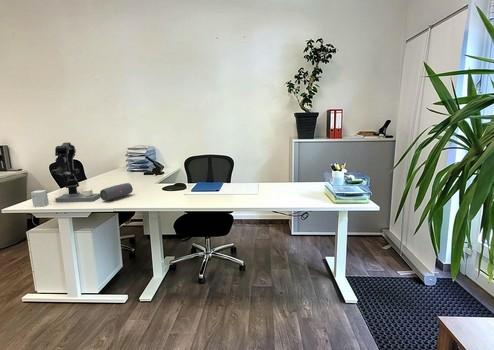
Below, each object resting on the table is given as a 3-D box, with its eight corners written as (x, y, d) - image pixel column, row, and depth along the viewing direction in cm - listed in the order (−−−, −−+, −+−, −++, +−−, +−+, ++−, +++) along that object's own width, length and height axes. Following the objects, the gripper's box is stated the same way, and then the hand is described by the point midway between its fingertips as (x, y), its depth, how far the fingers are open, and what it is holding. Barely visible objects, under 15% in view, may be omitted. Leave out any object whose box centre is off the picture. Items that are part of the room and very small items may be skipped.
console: (65, 197, 239) (65, 194, 238) (101, 197, 238) (100, 193, 237) (55, 202, 227) (55, 198, 227) (92, 201, 226) (92, 197, 225)
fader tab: (86, 194, 233) (85, 189, 233) (92, 194, 233) (92, 189, 232) (83, 196, 230) (82, 190, 229) (90, 195, 229) (89, 190, 229)
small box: (49, 204, 224) (46, 189, 221) (44, 206, 218) (42, 191, 216) (38, 204, 223) (35, 190, 221) (33, 206, 218) (30, 192, 216)
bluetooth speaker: (108, 203, 221) (106, 189, 219) (100, 201, 226) (98, 188, 224) (133, 195, 240) (132, 182, 238) (125, 194, 245) (124, 181, 243)
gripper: (44, 164, 221) (48, 185, 225) (70, 164, 221) (73, 185, 224) (53, 162, 232) (57, 182, 235) (78, 161, 232) (81, 181, 235)
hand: (67, 182), depth 232 cm, fingers closed
